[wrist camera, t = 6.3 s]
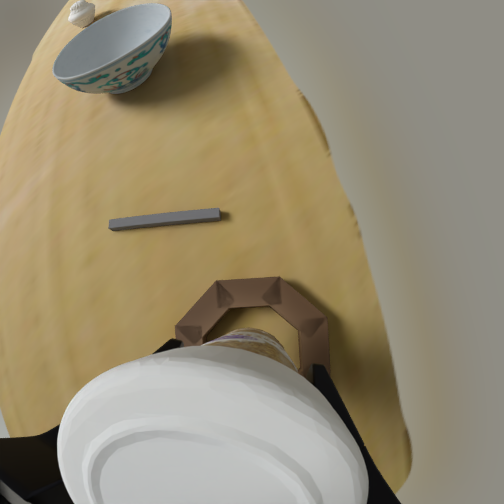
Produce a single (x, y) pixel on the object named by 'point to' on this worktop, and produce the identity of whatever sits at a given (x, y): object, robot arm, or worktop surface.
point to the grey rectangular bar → (165, 219)
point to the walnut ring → (260, 295)
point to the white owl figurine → (82, 13)
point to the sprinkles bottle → (209, 431)
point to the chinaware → (115, 50)
